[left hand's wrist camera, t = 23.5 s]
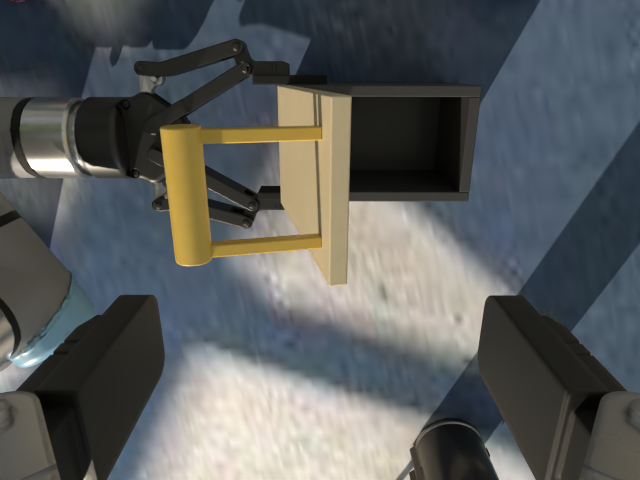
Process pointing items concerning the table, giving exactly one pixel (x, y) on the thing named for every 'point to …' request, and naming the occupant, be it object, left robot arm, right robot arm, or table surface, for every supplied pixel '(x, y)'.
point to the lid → (295, 181)
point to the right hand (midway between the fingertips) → (326, 138)
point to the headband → (17, 1)
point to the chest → (410, 139)
